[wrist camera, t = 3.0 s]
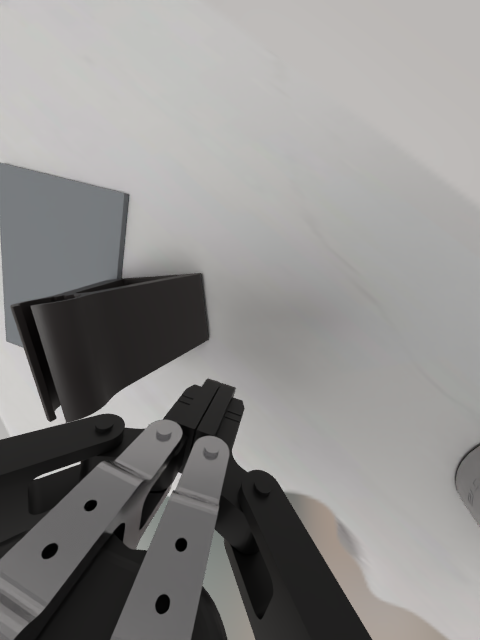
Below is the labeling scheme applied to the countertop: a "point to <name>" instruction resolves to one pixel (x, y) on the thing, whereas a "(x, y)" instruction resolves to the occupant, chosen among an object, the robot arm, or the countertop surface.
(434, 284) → the countertop surface
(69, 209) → the mat
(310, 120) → the countertop surface
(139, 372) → the phone stand
